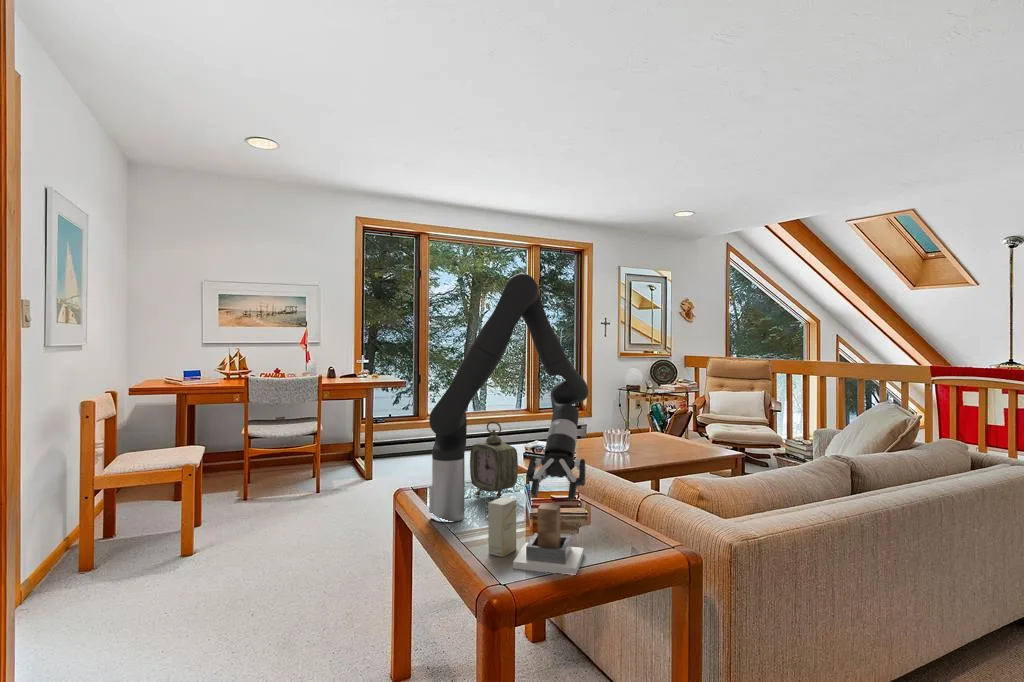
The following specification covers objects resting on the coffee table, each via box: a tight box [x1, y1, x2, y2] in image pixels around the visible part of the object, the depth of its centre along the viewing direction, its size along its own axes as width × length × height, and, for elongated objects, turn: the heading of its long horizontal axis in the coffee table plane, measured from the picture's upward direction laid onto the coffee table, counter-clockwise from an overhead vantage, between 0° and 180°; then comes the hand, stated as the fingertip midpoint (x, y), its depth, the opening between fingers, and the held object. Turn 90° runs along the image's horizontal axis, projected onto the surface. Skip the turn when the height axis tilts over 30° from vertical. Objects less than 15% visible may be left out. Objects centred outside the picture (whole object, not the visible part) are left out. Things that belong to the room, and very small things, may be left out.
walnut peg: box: [537, 502, 561, 548], centre depth 119 cm, size 4×4×11 cm
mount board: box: [512, 532, 585, 574], centre depth 119 cm, size 14×12×4 cm
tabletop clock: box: [469, 420, 519, 499], centre depth 169 cm, size 14×9×25 cm, turn 43°
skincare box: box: [487, 496, 517, 558], centre depth 125 cm, size 6×4×12 cm
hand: (552, 497), depth 124 cm, fingers open, 8 cm apart
